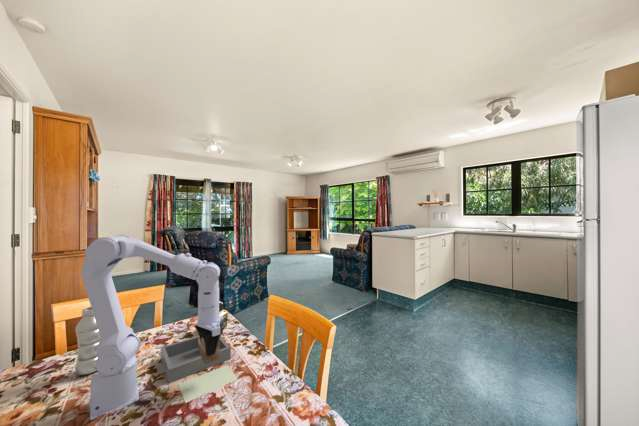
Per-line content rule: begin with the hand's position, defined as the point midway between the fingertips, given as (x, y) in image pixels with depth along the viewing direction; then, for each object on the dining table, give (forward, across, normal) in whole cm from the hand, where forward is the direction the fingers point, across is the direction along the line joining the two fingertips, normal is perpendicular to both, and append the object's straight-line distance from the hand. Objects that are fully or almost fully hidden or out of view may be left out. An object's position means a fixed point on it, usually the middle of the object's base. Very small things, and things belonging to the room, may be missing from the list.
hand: (208, 351), depth 70 cm
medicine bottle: (+10, +33, -12) cm, 36 cm away
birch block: (+9, +18, -4) cm, 20 cm away
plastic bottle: (+10, +31, +27) cm, 42 cm away
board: (+9, 0, 0) cm, 9 cm away
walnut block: (+2, 0, 0) cm, 2 cm away
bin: (+9, +15, 0) cm, 18 cm away
